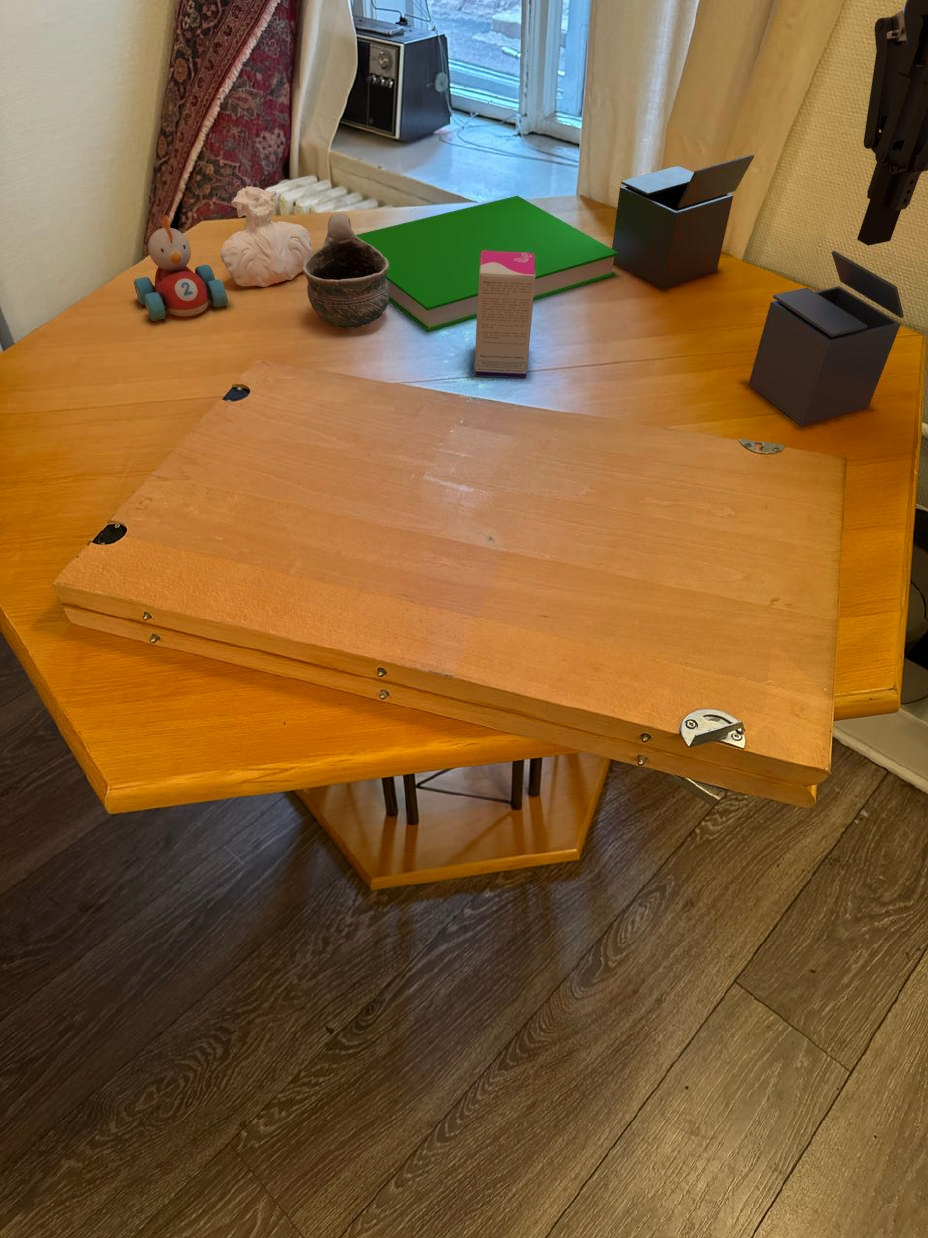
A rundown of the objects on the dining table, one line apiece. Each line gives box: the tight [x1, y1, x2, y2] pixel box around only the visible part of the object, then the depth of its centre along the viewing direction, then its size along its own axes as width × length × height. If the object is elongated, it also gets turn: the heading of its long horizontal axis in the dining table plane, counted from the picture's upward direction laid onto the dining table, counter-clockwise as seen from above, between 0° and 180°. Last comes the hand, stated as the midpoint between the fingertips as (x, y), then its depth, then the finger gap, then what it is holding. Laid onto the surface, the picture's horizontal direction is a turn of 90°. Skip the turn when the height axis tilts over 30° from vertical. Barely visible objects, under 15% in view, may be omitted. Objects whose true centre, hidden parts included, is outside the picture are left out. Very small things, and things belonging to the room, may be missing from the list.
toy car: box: [133, 215, 229, 322], centre depth 104 cm, size 9×9×10 cm
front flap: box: [831, 250, 905, 319], centre depth 87 cm, size 4×9×1 cm
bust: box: [219, 185, 313, 288], centre depth 110 cm, size 12×8×11 cm
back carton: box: [611, 165, 734, 291], centre depth 113 cm, size 10×10×10 cm
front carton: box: [747, 285, 902, 427], centre depth 91 cm, size 9×9×10 cm
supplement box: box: [473, 250, 535, 379], centre depth 94 cm, size 6×6×12 cm
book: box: [355, 195, 618, 333], centre depth 114 cm, size 22×28×3 cm
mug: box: [302, 213, 389, 329], centre depth 102 cm, size 10×12×10 cm
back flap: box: [677, 154, 755, 208], centre depth 104 cm, size 5×10×1 cm
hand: (873, 239), depth 84 cm, fingers closed
